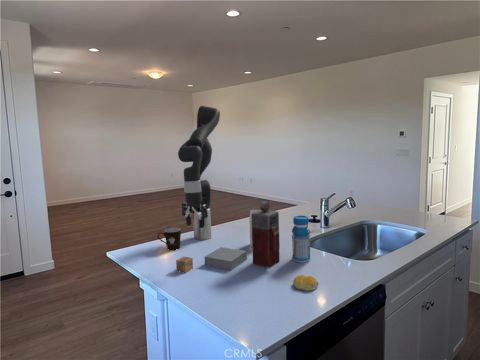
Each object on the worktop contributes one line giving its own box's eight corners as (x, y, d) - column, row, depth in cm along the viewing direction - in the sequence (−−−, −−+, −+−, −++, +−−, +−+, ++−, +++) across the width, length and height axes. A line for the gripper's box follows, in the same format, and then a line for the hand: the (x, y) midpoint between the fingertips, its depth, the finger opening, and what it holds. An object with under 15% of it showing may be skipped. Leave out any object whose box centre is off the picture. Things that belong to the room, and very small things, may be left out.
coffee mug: (185, 246, 174) (184, 228, 173) (175, 252, 166) (174, 233, 165) (167, 244, 179) (166, 226, 178) (157, 249, 171) (156, 230, 170)
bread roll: (298, 280, 130) (297, 270, 129) (320, 284, 125) (320, 274, 124) (289, 288, 123) (289, 278, 122) (312, 293, 118) (312, 283, 117)
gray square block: (204, 265, 148) (204, 256, 147) (221, 255, 160) (221, 247, 159) (231, 270, 141) (231, 261, 140) (246, 259, 153) (246, 251, 152)
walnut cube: (176, 271, 142) (176, 260, 141) (184, 267, 146) (183, 256, 146) (185, 273, 140) (185, 261, 139) (193, 268, 144) (192, 258, 143)
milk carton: (263, 247, 168) (262, 211, 165) (250, 247, 169) (249, 211, 167) (265, 243, 175) (264, 208, 172) (252, 243, 176) (251, 208, 174)
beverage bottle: (299, 264, 145) (299, 220, 142) (288, 258, 152) (287, 216, 150) (314, 260, 148) (314, 217, 146) (302, 255, 156) (302, 213, 153)
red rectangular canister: (274, 269, 141) (272, 205, 137) (252, 263, 147) (250, 202, 144) (284, 262, 148) (283, 201, 144) (263, 257, 154) (261, 199, 151)
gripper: (176, 191, 148) (178, 226, 149) (197, 192, 139) (200, 230, 140) (188, 189, 154) (190, 222, 155) (210, 190, 144) (212, 226, 146)
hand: (195, 226), depth 148 cm, fingers open, 8 cm apart
